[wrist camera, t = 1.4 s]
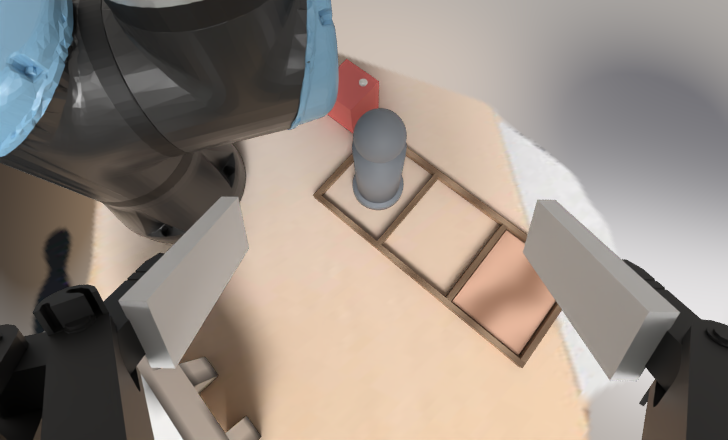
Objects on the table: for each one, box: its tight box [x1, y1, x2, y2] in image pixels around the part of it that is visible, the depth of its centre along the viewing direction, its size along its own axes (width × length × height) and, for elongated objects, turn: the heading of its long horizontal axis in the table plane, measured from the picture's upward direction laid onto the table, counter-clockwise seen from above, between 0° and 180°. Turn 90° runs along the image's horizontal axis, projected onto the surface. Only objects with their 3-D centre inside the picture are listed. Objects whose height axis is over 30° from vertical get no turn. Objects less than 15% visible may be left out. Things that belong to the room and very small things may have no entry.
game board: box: [313, 148, 562, 368], centre depth 37 cm, size 29×12×1 cm, turn 50°
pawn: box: [352, 108, 407, 210], centre depth 33 cm, size 6×6×14 cm
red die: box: [327, 59, 379, 133], centre depth 40 cm, size 5×5×5 cm
